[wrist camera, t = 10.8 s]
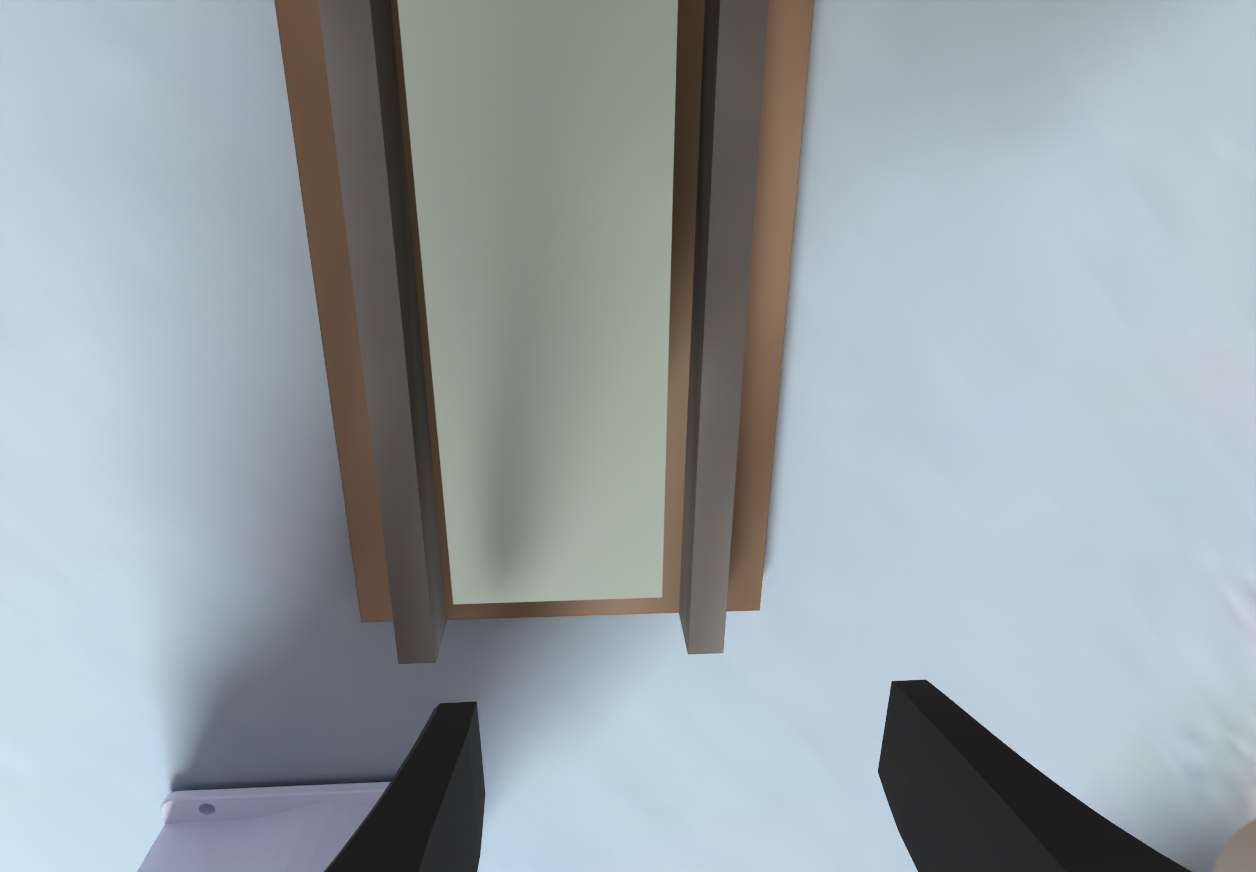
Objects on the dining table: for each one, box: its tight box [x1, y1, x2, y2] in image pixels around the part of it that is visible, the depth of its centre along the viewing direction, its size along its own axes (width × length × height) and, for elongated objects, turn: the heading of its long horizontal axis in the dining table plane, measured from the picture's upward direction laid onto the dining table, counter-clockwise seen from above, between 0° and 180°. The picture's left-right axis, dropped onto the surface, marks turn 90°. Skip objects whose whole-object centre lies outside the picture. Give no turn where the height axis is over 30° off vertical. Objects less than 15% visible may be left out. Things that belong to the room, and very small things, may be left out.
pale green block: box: [397, 0, 678, 604], centre depth 16 cm, size 4×12×7 cm, turn 179°
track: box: [275, 0, 814, 664], centre depth 18 cm, size 12×20×6 cm, turn 179°
